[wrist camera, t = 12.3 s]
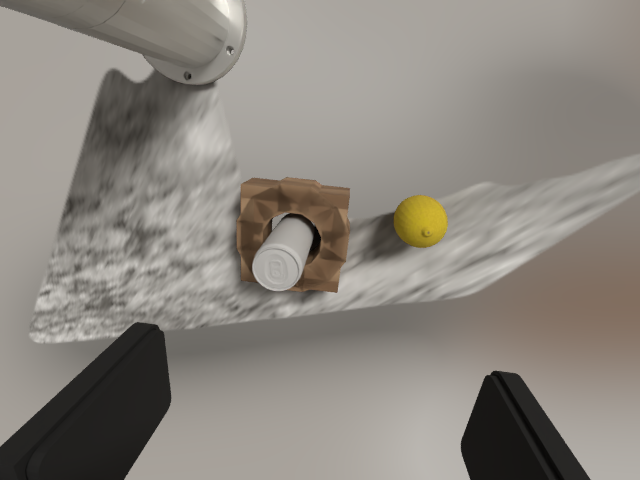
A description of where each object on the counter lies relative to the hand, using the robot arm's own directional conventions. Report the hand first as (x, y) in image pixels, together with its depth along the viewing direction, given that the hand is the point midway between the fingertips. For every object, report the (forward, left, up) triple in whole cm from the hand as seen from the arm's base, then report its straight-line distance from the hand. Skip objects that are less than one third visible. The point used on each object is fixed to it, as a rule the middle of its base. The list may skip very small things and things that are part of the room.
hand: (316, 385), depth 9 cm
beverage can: (+6, -5, -31) cm, 32 cm away
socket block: (+6, -5, -30) cm, 31 cm away
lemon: (+2, +9, -31) cm, 32 cm away
